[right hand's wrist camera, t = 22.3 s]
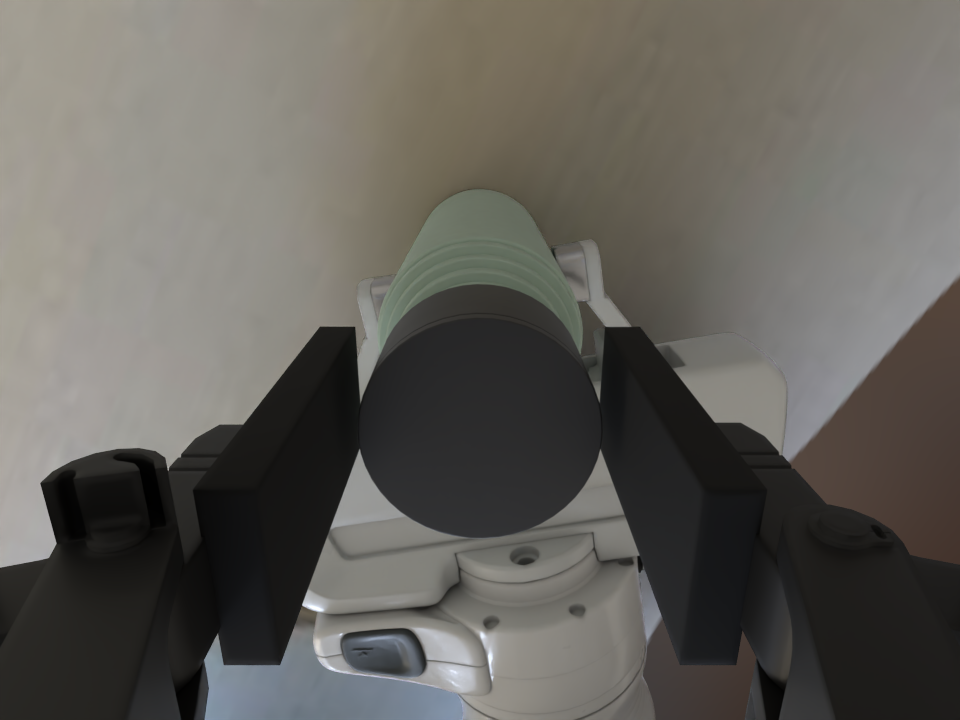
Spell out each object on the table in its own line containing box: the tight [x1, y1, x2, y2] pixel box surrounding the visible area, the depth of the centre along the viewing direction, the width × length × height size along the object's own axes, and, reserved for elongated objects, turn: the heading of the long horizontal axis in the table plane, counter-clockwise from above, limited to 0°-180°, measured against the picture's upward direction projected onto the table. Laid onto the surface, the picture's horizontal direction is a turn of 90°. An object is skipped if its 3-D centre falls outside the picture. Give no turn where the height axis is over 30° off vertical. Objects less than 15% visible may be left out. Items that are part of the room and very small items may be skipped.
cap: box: [357, 284, 603, 538], centre depth 13 cm, size 4×4×2 cm
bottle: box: [377, 189, 583, 354], centre depth 21 cm, size 6×6×17 cm
